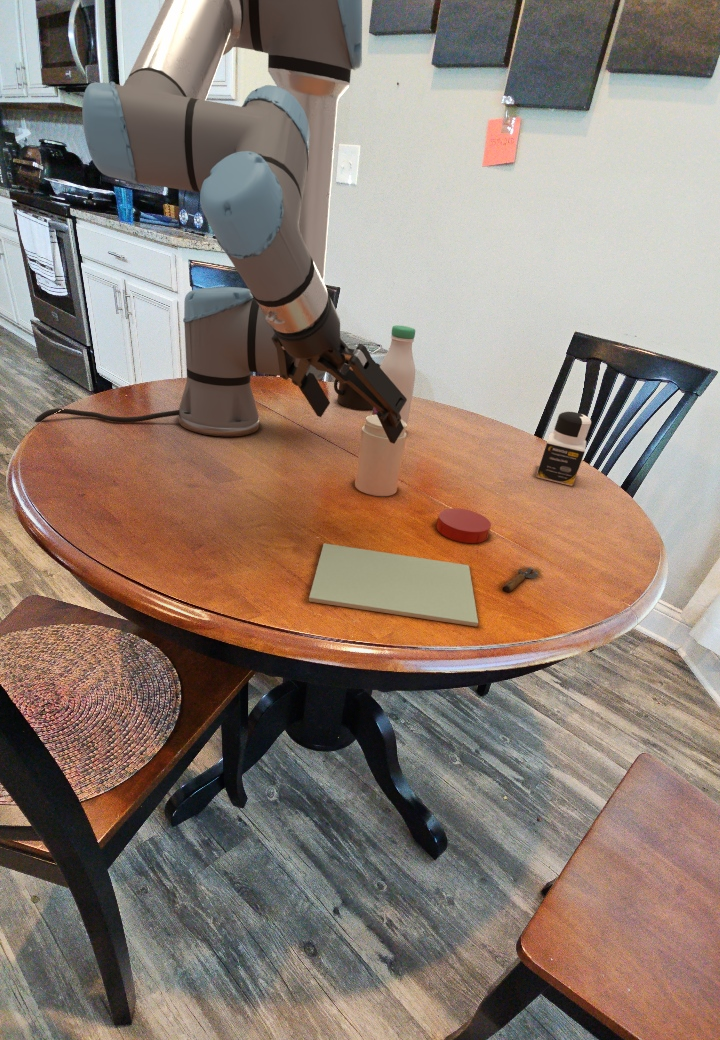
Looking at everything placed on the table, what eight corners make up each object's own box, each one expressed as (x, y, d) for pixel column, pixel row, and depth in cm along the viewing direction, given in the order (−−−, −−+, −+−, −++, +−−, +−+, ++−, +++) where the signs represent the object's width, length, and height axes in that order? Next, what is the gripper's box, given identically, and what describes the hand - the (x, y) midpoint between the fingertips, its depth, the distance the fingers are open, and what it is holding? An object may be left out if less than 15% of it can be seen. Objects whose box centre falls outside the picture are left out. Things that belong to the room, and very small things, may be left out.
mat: (308, 601, 68) (309, 597, 68) (323, 546, 80) (323, 542, 79) (477, 627, 69) (478, 622, 68) (468, 568, 80) (469, 565, 80)
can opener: (507, 595, 76) (510, 588, 76) (492, 587, 77) (495, 579, 77) (541, 575, 82) (544, 568, 81) (527, 568, 83) (529, 561, 83)
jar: (353, 492, 96) (361, 423, 90) (356, 476, 102) (364, 411, 95) (396, 499, 96) (408, 431, 90) (397, 482, 102) (408, 418, 96)
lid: (498, 536, 90) (501, 525, 89) (464, 547, 85) (467, 536, 84) (459, 515, 94) (462, 504, 93) (425, 525, 90) (428, 513, 88)
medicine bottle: (535, 477, 114) (555, 414, 107) (539, 466, 119) (558, 406, 112) (572, 486, 112) (595, 423, 105) (574, 475, 118) (596, 414, 111)
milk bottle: (406, 428, 129) (423, 327, 117) (405, 439, 123) (423, 333, 111) (371, 422, 129) (385, 321, 117) (368, 433, 123) (383, 327, 111)
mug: (320, 400, 138) (324, 358, 133) (360, 397, 145) (365, 358, 139) (343, 412, 132) (348, 369, 127) (384, 409, 139) (390, 368, 134)
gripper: (207, 314, 72) (283, 419, 92) (370, 362, 62) (417, 469, 81) (239, 265, 73) (308, 379, 92) (405, 305, 63) (443, 424, 82)
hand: (359, 422), depth 87 cm, fingers open, 13 cm apart
